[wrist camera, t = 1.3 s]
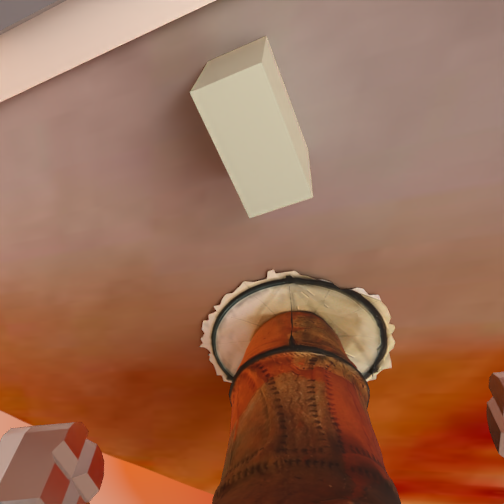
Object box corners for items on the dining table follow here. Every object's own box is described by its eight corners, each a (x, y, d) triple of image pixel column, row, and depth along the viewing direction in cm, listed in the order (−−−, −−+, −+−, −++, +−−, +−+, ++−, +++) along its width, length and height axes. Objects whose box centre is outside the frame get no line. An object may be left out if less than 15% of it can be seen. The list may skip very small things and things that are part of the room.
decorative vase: (202, 212, 35) (103, 741, 13) (458, 294, 40) (718, 790, 17) (142, 377, 47) (34, 808, 24) (346, 426, 52) (414, 827, 29)
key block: (266, 35, 29) (261, 62, 23) (308, 150, 33) (313, 197, 27) (208, 61, 30) (189, 92, 24) (255, 169, 34) (249, 218, 28)
